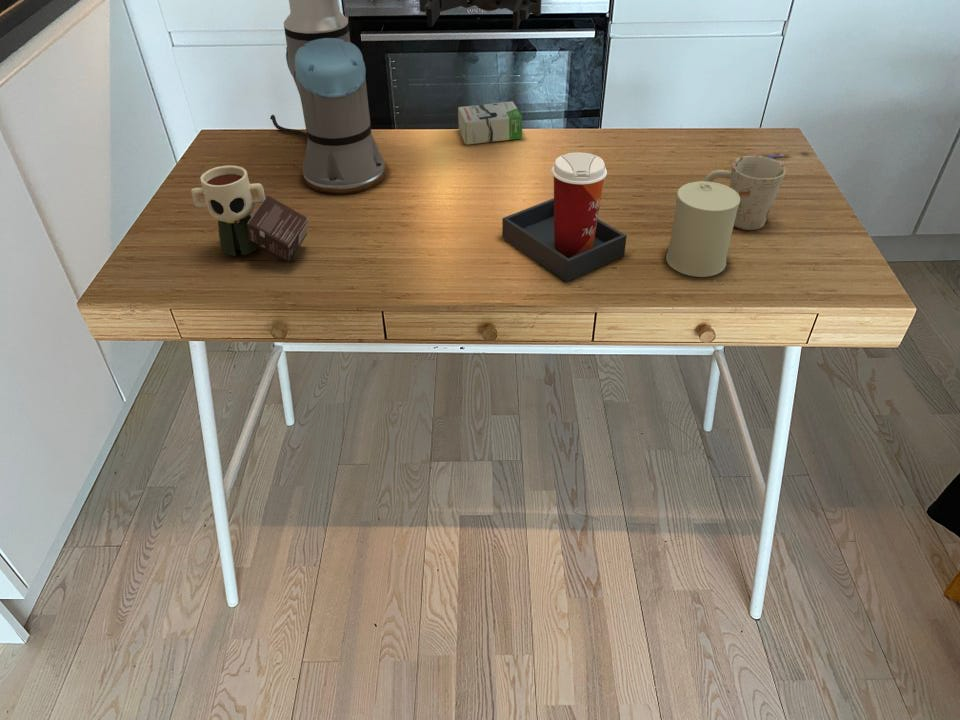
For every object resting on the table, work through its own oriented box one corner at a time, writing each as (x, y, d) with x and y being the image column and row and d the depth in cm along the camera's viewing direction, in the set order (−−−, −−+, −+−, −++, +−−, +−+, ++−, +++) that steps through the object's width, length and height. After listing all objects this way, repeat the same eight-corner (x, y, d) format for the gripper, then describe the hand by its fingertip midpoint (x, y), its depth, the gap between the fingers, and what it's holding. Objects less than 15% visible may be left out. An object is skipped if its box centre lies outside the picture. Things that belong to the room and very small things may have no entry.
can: (719, 245, 125) (733, 178, 118) (731, 277, 118) (748, 207, 111) (662, 245, 126) (672, 177, 118) (671, 277, 119) (683, 207, 111)
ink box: (523, 115, 154) (464, 122, 152) (522, 139, 157) (465, 146, 155) (512, 99, 160) (456, 106, 159) (512, 122, 163) (457, 129, 162)
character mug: (204, 263, 123) (183, 189, 115) (210, 239, 128) (190, 167, 120) (274, 257, 124) (258, 183, 116) (276, 234, 129) (261, 162, 121)
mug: (769, 237, 127) (784, 182, 121) (692, 225, 130) (702, 170, 124) (773, 213, 133) (787, 159, 127) (699, 202, 136) (709, 149, 130)
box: (289, 263, 124) (248, 240, 123) (308, 234, 126) (267, 211, 125) (289, 247, 118) (246, 223, 117) (309, 217, 120) (267, 193, 119)
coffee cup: (601, 263, 120) (611, 175, 111) (548, 263, 120) (553, 175, 111) (596, 235, 127) (604, 149, 117) (546, 235, 127) (550, 149, 117)
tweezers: (802, 151, 151) (802, 155, 151) (746, 154, 149) (746, 159, 149) (807, 152, 149) (807, 156, 150) (751, 155, 147) (750, 160, 148)
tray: (502, 238, 128) (502, 218, 126) (558, 215, 133) (559, 195, 131) (566, 282, 118) (568, 261, 115) (624, 256, 123) (626, 235, 121)
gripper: (560, 7, 138) (550, 47, 122) (423, 3, 141) (396, 41, 125) (562, -39, 133) (552, -4, 117) (421, -42, 136) (392, -9, 120)
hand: (471, 19), depth 121 cm, fingers open, 13 cm apart
